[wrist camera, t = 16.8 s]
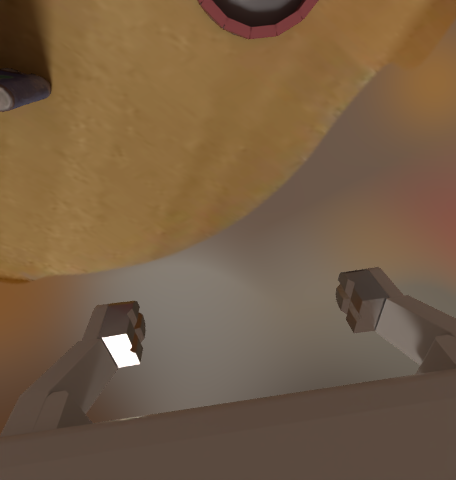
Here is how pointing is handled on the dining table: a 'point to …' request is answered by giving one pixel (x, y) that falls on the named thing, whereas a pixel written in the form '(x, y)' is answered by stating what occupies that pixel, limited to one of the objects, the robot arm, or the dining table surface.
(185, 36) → the dining table surface
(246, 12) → the round tray
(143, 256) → the dining table surface
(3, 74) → the flask
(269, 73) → the dining table surface
